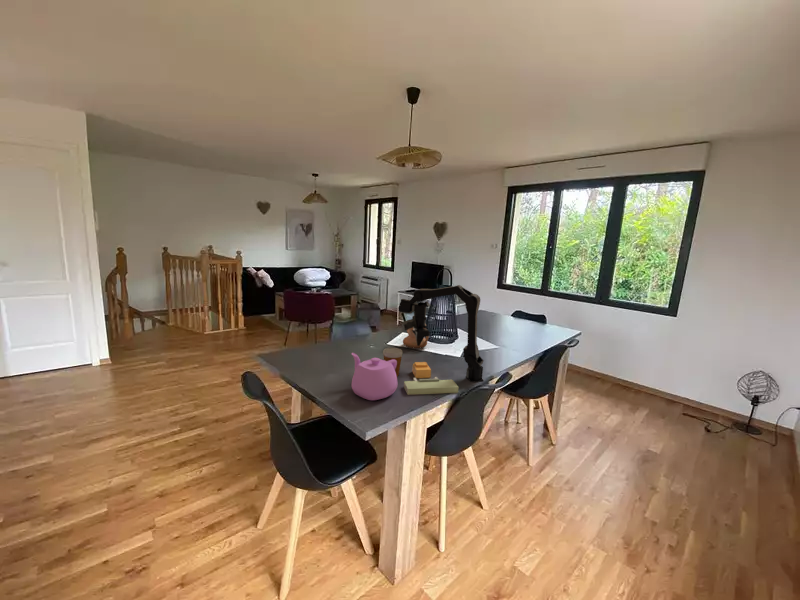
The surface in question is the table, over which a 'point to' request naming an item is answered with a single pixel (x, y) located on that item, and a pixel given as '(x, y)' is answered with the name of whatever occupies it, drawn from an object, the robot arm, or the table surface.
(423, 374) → the orange block with panel
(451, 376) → the table surface
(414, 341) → the ceramic jug
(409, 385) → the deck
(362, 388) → the teapot
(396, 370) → the disposable coffee cup
